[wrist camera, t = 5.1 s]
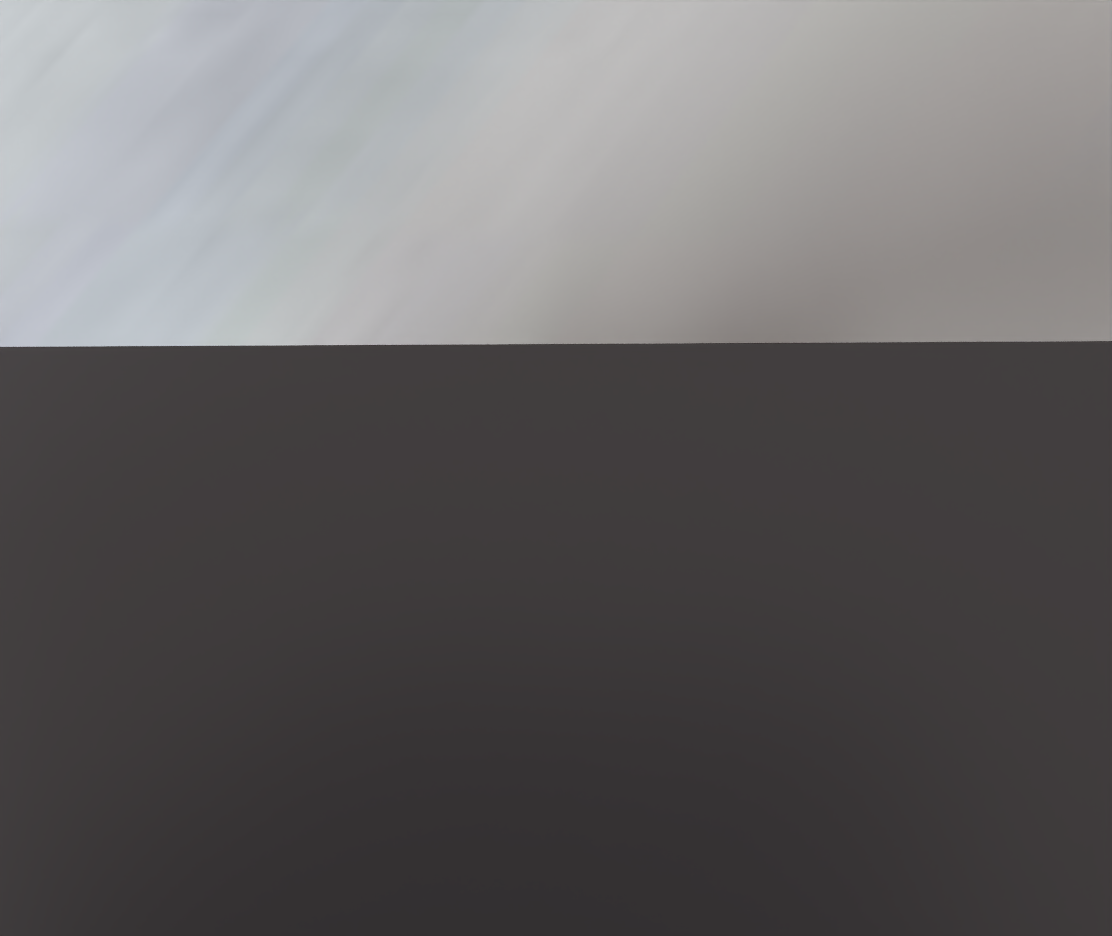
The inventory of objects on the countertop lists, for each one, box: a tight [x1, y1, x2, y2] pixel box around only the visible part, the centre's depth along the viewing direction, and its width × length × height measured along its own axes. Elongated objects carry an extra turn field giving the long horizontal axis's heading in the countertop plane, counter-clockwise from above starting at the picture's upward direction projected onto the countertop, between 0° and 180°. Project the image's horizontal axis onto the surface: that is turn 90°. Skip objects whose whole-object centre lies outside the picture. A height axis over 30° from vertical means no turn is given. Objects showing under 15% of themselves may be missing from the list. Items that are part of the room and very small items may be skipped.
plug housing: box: [0, 341, 1112, 936], centre depth 9 cm, size 4×4×13 cm
